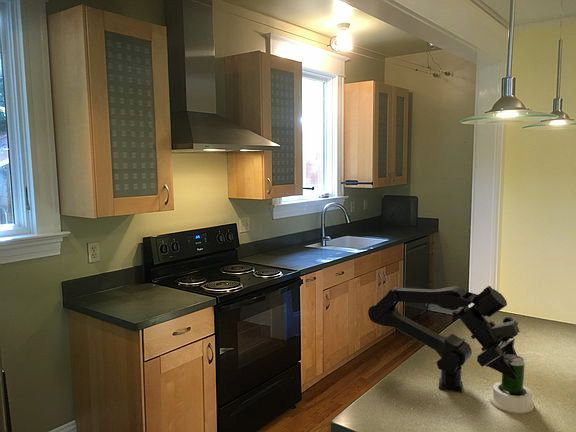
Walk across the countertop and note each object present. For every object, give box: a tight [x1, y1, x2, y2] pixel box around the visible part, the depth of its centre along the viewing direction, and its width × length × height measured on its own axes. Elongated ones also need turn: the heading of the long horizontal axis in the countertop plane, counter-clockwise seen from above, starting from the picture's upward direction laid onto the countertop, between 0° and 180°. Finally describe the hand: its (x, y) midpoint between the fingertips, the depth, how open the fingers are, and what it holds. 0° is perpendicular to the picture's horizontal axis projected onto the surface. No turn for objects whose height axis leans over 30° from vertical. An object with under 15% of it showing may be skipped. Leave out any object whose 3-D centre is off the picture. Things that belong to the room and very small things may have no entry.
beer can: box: [501, 354, 526, 396], centre depth 130 cm, size 5×5×12 cm
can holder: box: [489, 381, 535, 415], centre depth 131 cm, size 11×11×4 cm
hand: (518, 373), depth 129 cm, fingers open, 7 cm apart
